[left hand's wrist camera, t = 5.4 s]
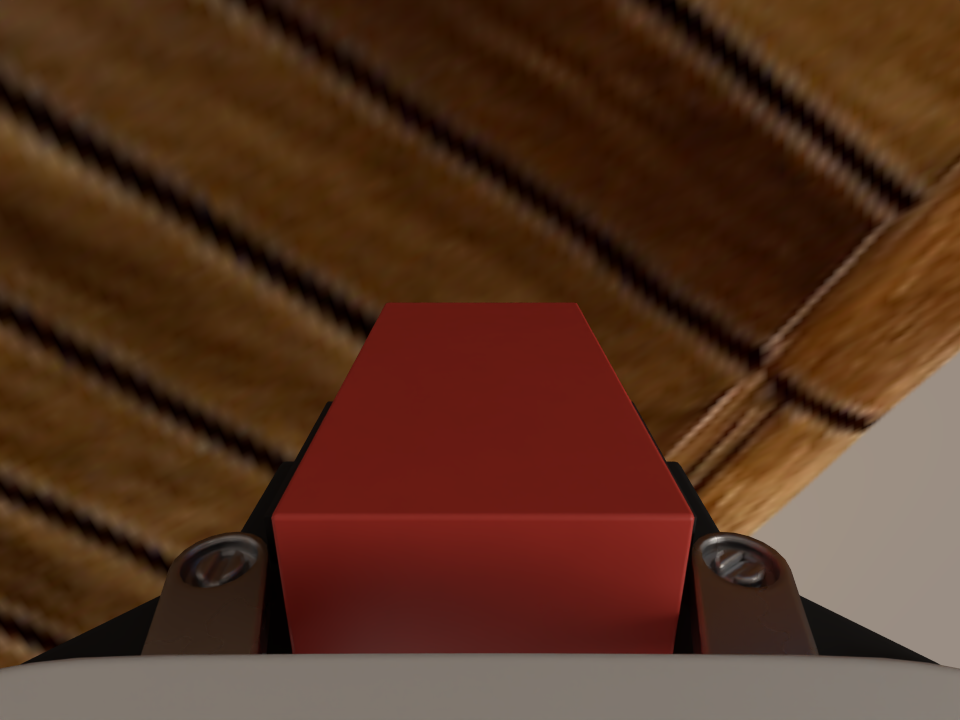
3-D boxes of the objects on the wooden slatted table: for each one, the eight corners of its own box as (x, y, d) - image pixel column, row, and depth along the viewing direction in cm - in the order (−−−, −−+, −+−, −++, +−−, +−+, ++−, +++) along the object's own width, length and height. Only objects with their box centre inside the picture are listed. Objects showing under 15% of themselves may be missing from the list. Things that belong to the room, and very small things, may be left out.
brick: (565, 489, 16) (646, 831, 8) (397, 489, 16) (318, 831, 8) (577, 302, 14) (697, 516, 6) (385, 302, 14) (268, 516, 6)
